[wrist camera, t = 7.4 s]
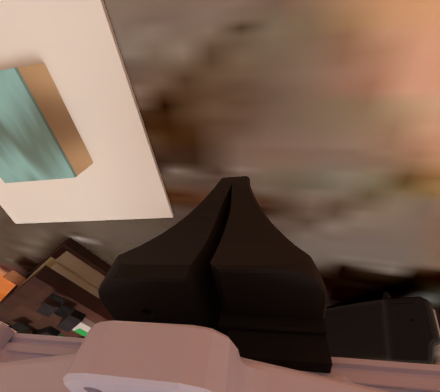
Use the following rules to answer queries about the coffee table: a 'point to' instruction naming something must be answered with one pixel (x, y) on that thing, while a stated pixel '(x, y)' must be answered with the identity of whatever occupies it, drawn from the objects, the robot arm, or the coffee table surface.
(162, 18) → the coffee table surface
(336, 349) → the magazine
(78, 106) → the mat
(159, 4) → the coffee table surface
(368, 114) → the coffee table surface
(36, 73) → the tile
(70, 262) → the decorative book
